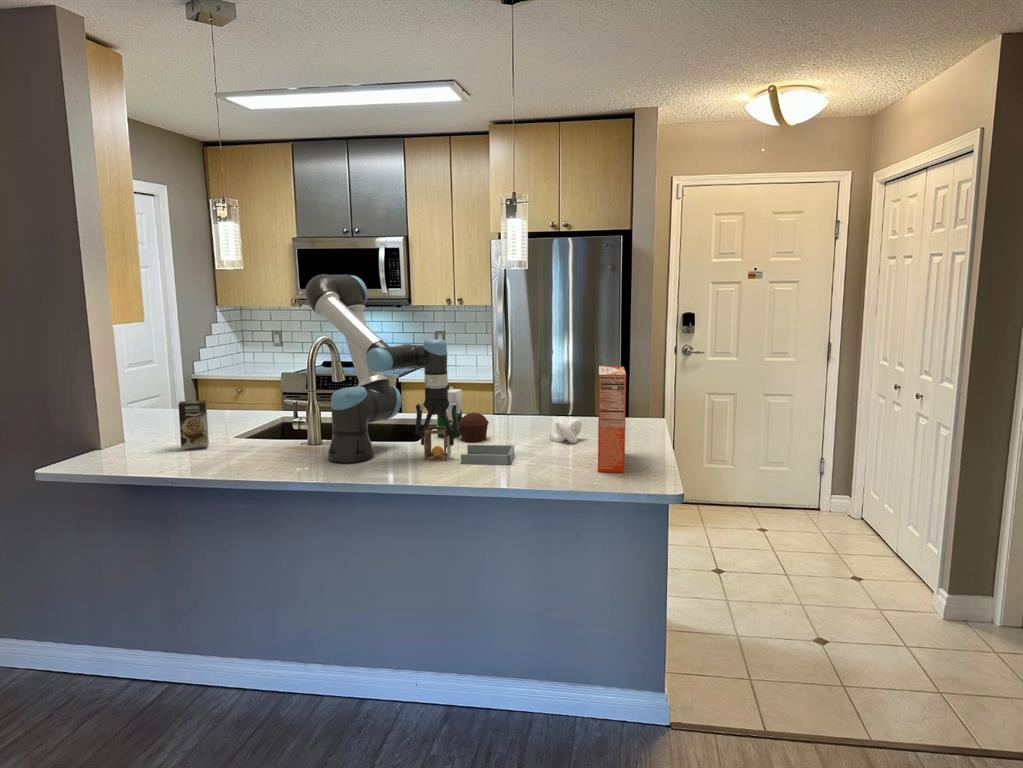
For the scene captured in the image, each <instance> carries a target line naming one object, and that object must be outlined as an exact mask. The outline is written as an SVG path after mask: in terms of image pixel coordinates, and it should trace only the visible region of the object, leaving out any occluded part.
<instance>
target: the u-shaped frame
mask: <svg viewBox="0 0 1023 768" xmlns="http://www.w3.org/2000/svg"><path fill="white" fill-rule="evenodd" d="M466 446H467V449H466V450H467V453H461V454H460V465H461V464H462V465H495V466H496V465H502V466H503V465H506V466H507V465H508V466H510V465H511V464H512V461H513V459H514V456H515V445H514V444H511V445H509V444H505V445H504V444H467V445H466Z"/></svg>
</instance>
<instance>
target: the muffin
mask: <svg viewBox="0 0 1023 768" xmlns="http://www.w3.org/2000/svg"><path fill="white" fill-rule="evenodd" d="M489 423H490V422H489V421H488V419H487V418H486V416H484V415H483V414H482V413H480V412H468V413H467V414H464V416H462V419H461V420H460V421H459V425H460V428H461V434H462V435H461V439H462V442H466V443H479V442H483V441H485V440H487V433H488V428H489V427H488V426H489Z"/></svg>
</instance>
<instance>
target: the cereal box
mask: <svg viewBox="0 0 1023 768" xmlns="http://www.w3.org/2000/svg"><path fill="white" fill-rule="evenodd" d="M626 400H627V372H626V369H625V366H622V365H621V366H620V365H619V366H617V365H616V366H613V365H612V366H611V365H610V366H609V365H607V366H606V365H604V366H603V365H599V366H598V420H597V421H598V424H597V427H598V431H597V432H598V435H597V438H598V439H597V472H598V473H599V472H600V473H625V467H626V466H625V465H626V463H625V461H626V460H625V459H626V458H625V457H626V456H625V455H626V413H627V411H626V406H627V405H626V404H627V401H626Z"/></svg>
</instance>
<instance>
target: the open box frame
mask: <svg viewBox="0 0 1023 768" xmlns="http://www.w3.org/2000/svg"><path fill="white" fill-rule="evenodd" d="M433 434H435V435H436V434H437V435H438V434H444V438H443V451H444V453H443V456H442V457H440V458H435V457H434V456H433V455H432V435H433ZM448 435H449V434H448V431H447V429H446V426H438V425H437V426H436V425H428V428H427V429H426V430H424V436H425V456H424V461H436V462H438V461H439V462H440V461H442V462H445V461H447V457H448V456H447V436H448Z"/></svg>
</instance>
